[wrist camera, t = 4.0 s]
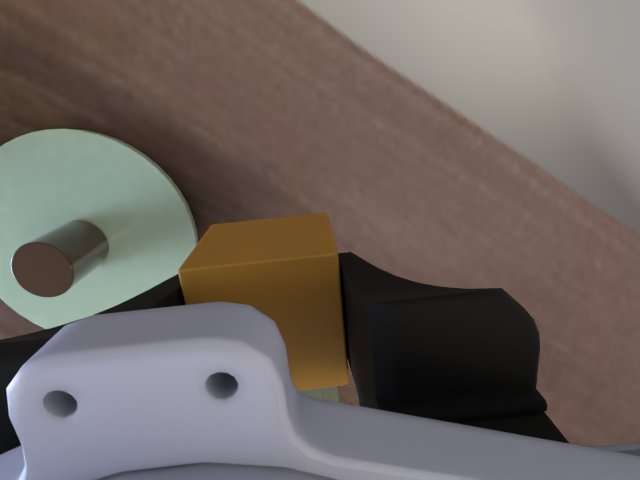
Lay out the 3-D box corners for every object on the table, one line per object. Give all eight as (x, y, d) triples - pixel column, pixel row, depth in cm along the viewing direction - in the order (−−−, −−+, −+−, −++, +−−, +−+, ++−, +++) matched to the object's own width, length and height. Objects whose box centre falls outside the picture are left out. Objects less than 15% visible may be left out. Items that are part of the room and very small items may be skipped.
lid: (23, 340, 23) (-40, 393, 19) (-57, 139, 19) (-158, 149, 15) (218, 319, 23) (200, 367, 19) (177, 116, 19) (143, 119, 15)
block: (230, 326, 15) (206, 401, 11) (211, 224, 13) (176, 270, 10) (336, 314, 15) (349, 385, 11) (327, 211, 14) (338, 252, 10)
